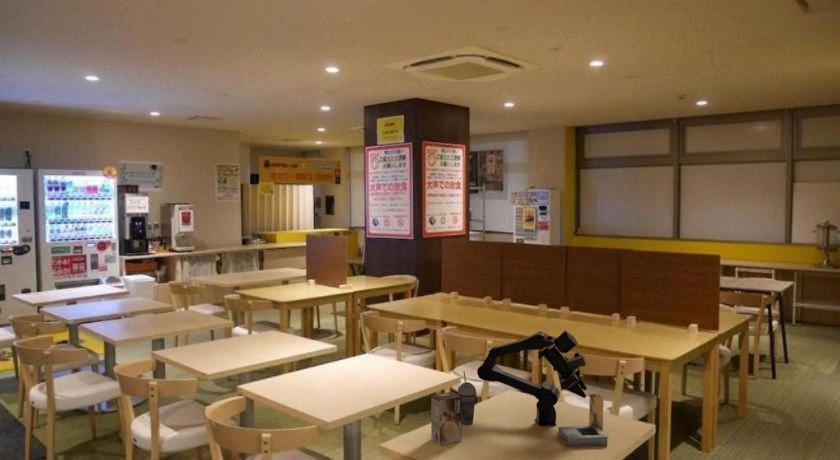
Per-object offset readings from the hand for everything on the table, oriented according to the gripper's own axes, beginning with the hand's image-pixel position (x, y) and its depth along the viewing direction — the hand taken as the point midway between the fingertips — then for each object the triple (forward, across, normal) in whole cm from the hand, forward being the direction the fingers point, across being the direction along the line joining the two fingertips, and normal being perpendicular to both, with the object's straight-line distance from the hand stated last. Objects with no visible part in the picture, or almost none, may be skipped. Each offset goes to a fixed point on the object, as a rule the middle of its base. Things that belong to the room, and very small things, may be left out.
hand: (585, 393), depth 223 cm
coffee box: (-22, -27, +43) cm, 55 cm away
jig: (+9, -13, +9) cm, 18 cm away
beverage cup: (-20, -10, +40) cm, 46 cm away
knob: (+12, 0, +6) cm, 13 cm away
